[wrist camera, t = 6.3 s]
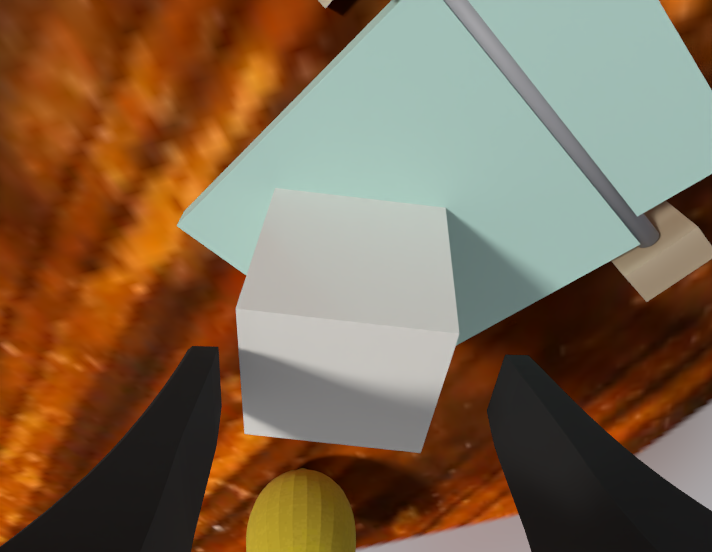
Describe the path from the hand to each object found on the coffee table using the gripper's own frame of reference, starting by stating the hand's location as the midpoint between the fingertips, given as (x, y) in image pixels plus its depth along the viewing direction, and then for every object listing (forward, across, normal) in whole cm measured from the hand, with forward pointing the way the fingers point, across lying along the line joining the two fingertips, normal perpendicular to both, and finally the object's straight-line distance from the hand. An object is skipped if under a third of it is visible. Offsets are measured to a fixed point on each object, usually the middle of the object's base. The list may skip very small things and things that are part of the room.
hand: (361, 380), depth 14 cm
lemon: (+10, +1, +17) cm, 20 cm away
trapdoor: (+6, -3, -3) cm, 8 cm away
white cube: (+5, 0, 0) cm, 5 cm away
